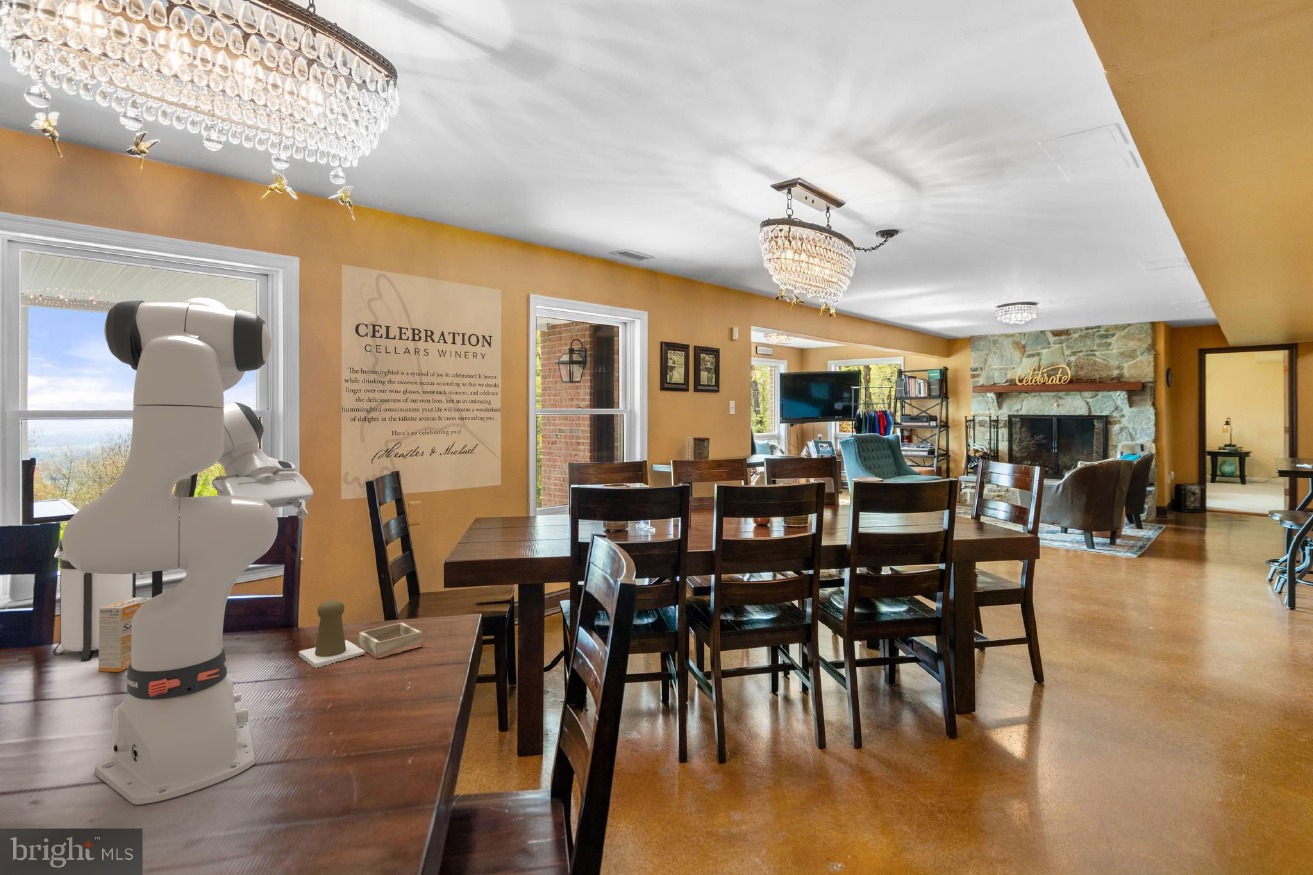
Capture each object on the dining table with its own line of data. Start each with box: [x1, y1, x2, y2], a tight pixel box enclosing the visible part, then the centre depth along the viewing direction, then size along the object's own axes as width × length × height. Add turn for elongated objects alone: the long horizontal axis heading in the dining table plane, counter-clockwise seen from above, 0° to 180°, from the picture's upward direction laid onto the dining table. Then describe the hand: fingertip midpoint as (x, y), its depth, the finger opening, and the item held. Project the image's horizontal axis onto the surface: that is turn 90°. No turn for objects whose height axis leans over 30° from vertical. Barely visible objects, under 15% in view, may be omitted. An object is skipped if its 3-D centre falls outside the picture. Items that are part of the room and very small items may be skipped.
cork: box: [315, 599, 346, 657], centre depth 132 cm, size 6×6×11 cm
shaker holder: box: [357, 622, 423, 656], centre depth 138 cm, size 10×10×4 cm
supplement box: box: [98, 596, 152, 673], centre depth 126 cm, size 8×5×13 cm, turn 179°
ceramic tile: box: [298, 639, 366, 669], centre depth 132 cm, size 10×10×1 cm
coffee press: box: [52, 539, 164, 662], centre depth 135 cm, size 17×16×30 cm
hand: (286, 519), depth 136 cm, fingers open, 8 cm apart
